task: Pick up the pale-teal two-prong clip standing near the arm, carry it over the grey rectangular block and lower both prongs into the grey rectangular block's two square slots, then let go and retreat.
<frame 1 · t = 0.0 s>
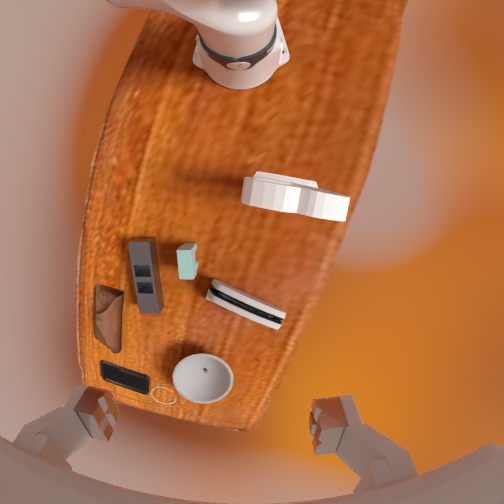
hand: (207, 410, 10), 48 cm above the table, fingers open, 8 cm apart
sunglasses case: (109, 316, 64), on the table
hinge: (246, 297, 62), on the table
dish: (204, 367, 68), on the table
phone: (126, 376, 70), on the table
grey rectangular block: (149, 273, 60), on the table
heart sculpture: (284, 188, 54), on the table
clip: (191, 254, 58), on the table
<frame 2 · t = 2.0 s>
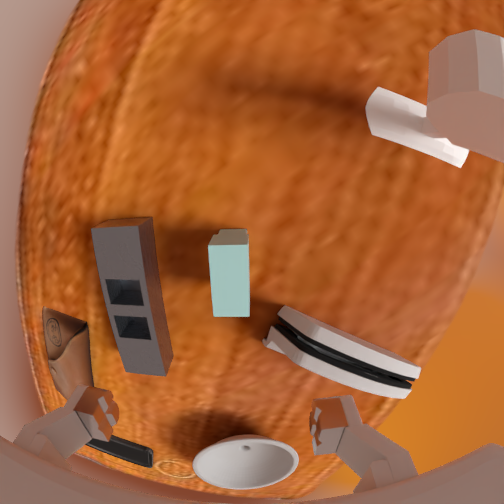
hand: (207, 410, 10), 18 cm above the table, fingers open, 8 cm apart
sunglasses case: (73, 361, 33), on the table
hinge: (340, 338, 30), on the table
dish: (244, 442, 36), on the table
phone: (115, 442, 39), on the table
grey rectangular block: (140, 294, 28), on the table
heart sculpture: (423, 128, 23), on the table
clip: (234, 256, 27), on the table
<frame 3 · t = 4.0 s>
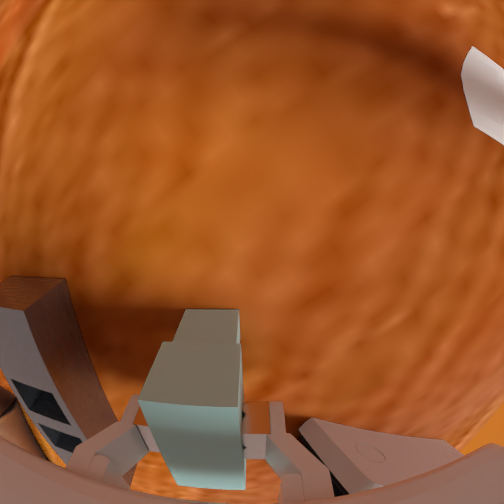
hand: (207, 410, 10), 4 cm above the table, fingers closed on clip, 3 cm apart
sunglasses case: (21, 427, 19), on the table
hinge: (383, 440, 17), on the table
grey rectangular block: (75, 388, 15), on the table
clip: (216, 355, 13), on the table, touching gripper
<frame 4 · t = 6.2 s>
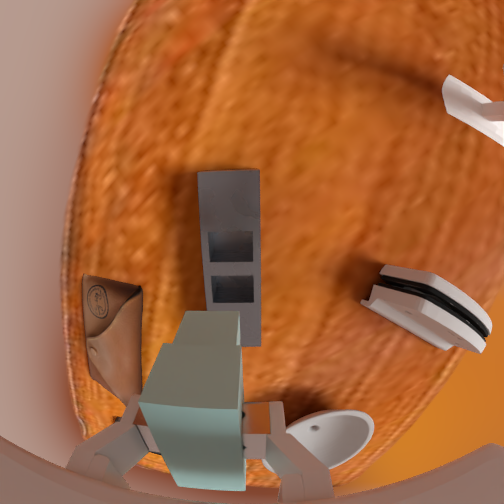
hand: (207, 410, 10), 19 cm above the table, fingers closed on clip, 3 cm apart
sunglasses case: (115, 339, 32), on the table
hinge: (422, 302, 30), on the table
dish: (312, 422, 36), on the table
grey rectangular block: (234, 254, 27), on the table
heart sculpture: (481, 113, 22), on the table
clip: (216, 356, 13), point 15 cm above the table, touching gripper
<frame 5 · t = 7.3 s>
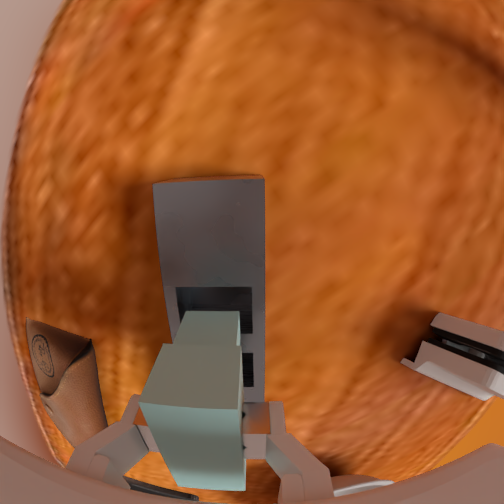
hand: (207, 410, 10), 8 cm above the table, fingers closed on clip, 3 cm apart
sunglasses case: (76, 393, 22), on the table
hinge: (469, 350, 20), on the table
dish: (323, 480, 26), on the table
phone: (146, 488, 28), on the table
grey rectangular block: (223, 309, 17), on the table
clip: (216, 356, 13), point 4 cm above the table, touching gripper
when the fingers open (5 cm above the table, at t = 8.2 s): clip stays where it is, resting on grey rectangular block.
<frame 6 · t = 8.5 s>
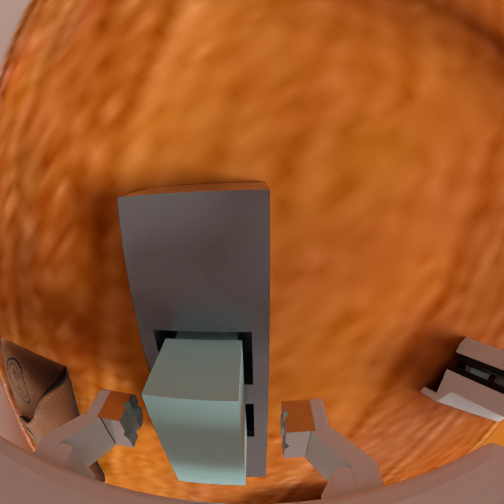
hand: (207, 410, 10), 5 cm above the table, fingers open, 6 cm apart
sunglasses case: (58, 416, 18), on the table
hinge: (489, 373, 16), on the table
grey rectangular block: (218, 344, 14), on the table
clip: (217, 352, 14), point 1 cm above the table, touching grey rectangular block
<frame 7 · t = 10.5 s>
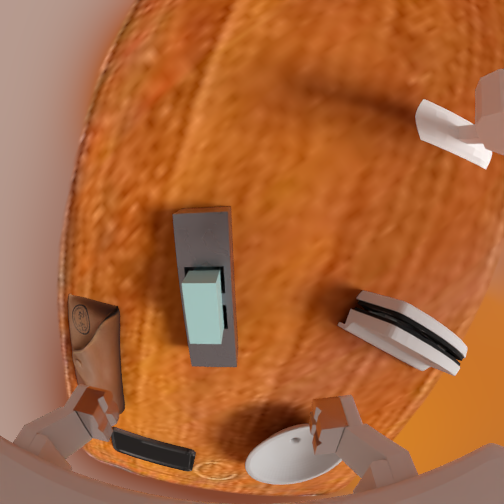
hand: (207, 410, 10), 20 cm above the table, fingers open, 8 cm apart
sunglasses case: (98, 352, 33), on the table
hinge: (399, 325, 32), on the table
dish: (294, 434, 37), on the table
phone: (153, 447, 39), on the table
grey rectangular block: (211, 284, 30), on the table
heart sculpture: (457, 135, 25), on the table
clip: (211, 287, 29), point 1 cm above the table, touching grey rectangular block
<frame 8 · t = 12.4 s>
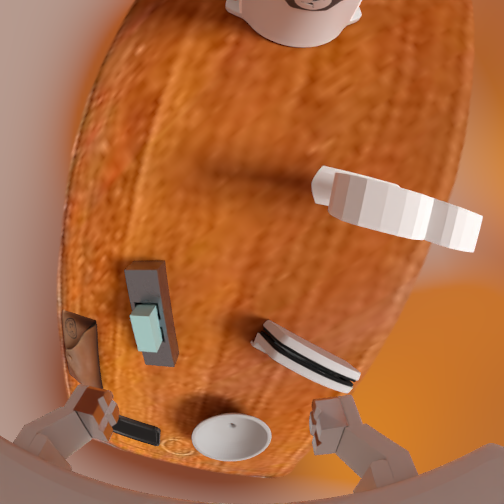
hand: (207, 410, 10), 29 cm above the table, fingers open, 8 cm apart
sunglasses case: (84, 350, 45), on the table
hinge: (305, 346, 44), on the table
dish: (232, 421, 49), on the table
phone: (129, 425, 52), on the table
grey rectangular block: (156, 310, 41), on the table
heart sculpture: (359, 193, 36), on the table
clip: (156, 312, 41), point 1 cm above the table, touching grey rectangular block
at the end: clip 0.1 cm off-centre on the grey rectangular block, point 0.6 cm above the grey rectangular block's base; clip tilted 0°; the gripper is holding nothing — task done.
